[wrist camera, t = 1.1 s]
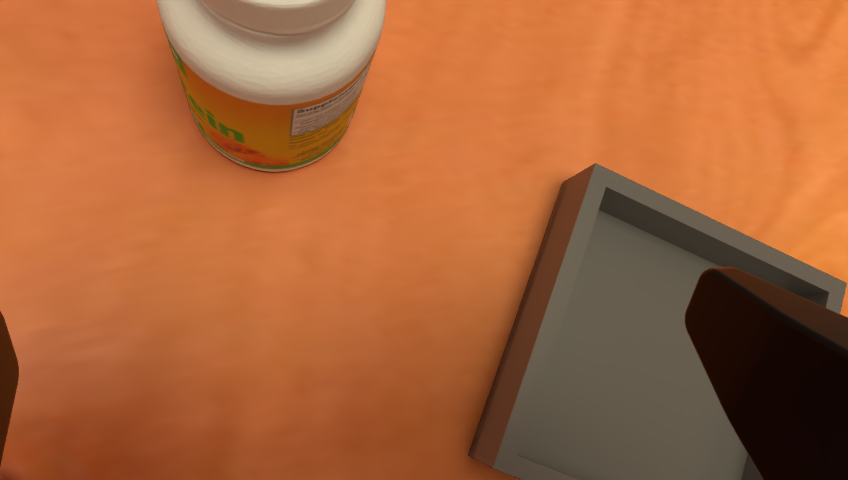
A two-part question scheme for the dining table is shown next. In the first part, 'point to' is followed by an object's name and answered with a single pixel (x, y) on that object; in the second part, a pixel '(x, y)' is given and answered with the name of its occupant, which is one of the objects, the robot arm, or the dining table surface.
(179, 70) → the supplement bottle
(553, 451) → the charcoal tray
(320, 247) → the dining table surface
